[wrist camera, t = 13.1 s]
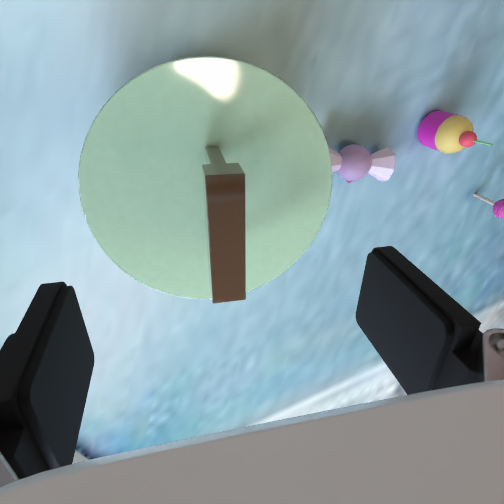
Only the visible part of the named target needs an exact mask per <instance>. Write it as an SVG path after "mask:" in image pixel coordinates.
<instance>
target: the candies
mask: <svg viewBox="0 0 504 504" xmlns="http://www.w3.org/2000/svg"><path fill="white" fill-rule="evenodd" d="M418 139H419V141H420V143H422V144H423V145H424V146H427V147H430V148H432V149H435V150H438V151H440V152H443V153H456V152H458V151H461V150H462V149H464V148H465V147H470V146H472V145H474V144H475V142H476V143H480V144H484V145H489V146H492V145H493V144H490V143H485V142H481V141H477V136H476V134H475V133H474V132H473V125H472V123H471V122H470V120H469V119H467V118H466V117H464V116H461V115H457V114H452V113H448V112H444V111H434V112H432V113H430V114H428V115H427V116H426V117H425V118H424V119H423V121H422V122H421V124H420V126H419V129H418ZM328 147H329V146H328ZM329 152H330V157H331V165H332V173H333V172H335V171H336V172H337V173H338V175H339V176H340V177H341V178H343V179H345V180H346V181H347V182H348V183H349V182H352V181H357V180H360V179H362V178H363V177H365V176H366V175H367V174H368V173H369V174H370V175H372V176H373V177H374V178H376V179H377V180H379V181H386V180H388V179H389V178H390V176H391V174H392V173H393V171H394V167H395V154H394V153H393V151H392V149H391V148H390V147H387V148H384V149H381V150H379V151H377V152H375V153H373V154H371V155H370V153H369V151H368V150H367V149H366V148H365V147H363V146H361V145H357V144H353V145H348V146H346V147H344V148H343V149H341V150H340V151H339V153H338V152H336V151H335V150H333V149H332V148H330V147H329ZM473 196H475V197H477V198H479V199H481V200H483V201H485V202H488V203H490V204H492V205H493V213H494V215H496V217H498V218H502V219H504V199H502V200H499V201H497V202H496V203H495V202H493V201H491V200H489V199H487V198H485V197H483V196H481V195H478V194H476V193H474V194H473Z"/></svg>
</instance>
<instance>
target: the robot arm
mask: <svg viewBox="0 0 504 504" xmlns="http://www.w3.org/2000/svg"><path fill="white" fill-rule="evenodd" d="M356 321H357V323H358V325H359V326H360V328H361V329H362V331H363V332H364V333H365V335H366V336H367V338H368V339H369V341H370V342H371V343H372V345H373V346H374V348H375V349H376V351H377V352H378V353H379V355H380V356H381V358H382V359H383V360H384V362H385V363H386V365H387V366H388V368H389V369H390V370H391V372H392V373H393V375H394V376H395V378H396V379H397V380H398V382H399V383H400V385H401V386H402V387H403V389H404V390H405V392H406V393H407V395H405V396H400V397H395V398H390V399H384V400H379V401H374V402H369V403H364V404H359V405H353V406H348V407H343V408H338V409H333V410H328V411H323V412H318V413H313V414H308V415H303V416H298V417H293V418H288V419H283V420H278V421H273V422H268V423H263V424H258V425H253V426H248V427H243V428H238V429H233V430H228V431H223V432H219V433H214V434H209V435H204V436H199V437H194V438H189V439H184V440H180V441H175V442H170V443H165V444H160V445H155V446H150V447H146V448H141V449H137V450H132V451H127V452H123V453H118V454H114V455H109V456H105V457H100V458H96V459H91V460H87V461H82V462H78V463H75V464H72V462H73V457H74V453H75V448H76V444H77V439H78V435H79V430H80V426H81V421H82V416H83V412H84V407H85V403H86V398H87V394H88V389H89V385H90V380H91V375H92V371H93V366H94V353H93V349H92V346H91V343H90V339H89V336H88V333H87V330H86V326H85V323H84V320H83V317H82V313H81V310H80V307H79V303H78V300H77V297H76V294H75V290H74V288H73V286H67V285H66V284H65V282H56V283H47V284H41V285H40V287H39V289H38V290H37V292H36V294H35V296H34V298H33V300H32V302H31V304H30V306H29V308H28V310H27V312H26V314H25V316H24V317H23V319H22V321H21V323H20V325H19V327H18V329H17V331H16V333H14V334H11V335H10V336H9V337H8V338H7V339H6V341H5V343H4V345H3V346H2V348H1V350H0V504H504V329H490V330H487V331H486V332H485V333H482V332H481V331H479V330H478V329H479V327H480V324H481V323H480V322H479V321H478V320H477V319H476V318H475V317H474V316H472V315H471V314H470V313H469V312H468V311H467V310H465V309H464V308H463V307H462V306H461V305H460V304H459V303H457V302H456V301H455V300H454V299H453V298H452V297H450V296H449V295H448V294H447V293H446V292H445V291H444V290H442V289H441V288H440V287H439V286H438V285H437V284H435V283H434V282H433V281H432V280H431V279H430V278H429V277H427V276H426V275H425V274H424V273H423V272H422V271H420V270H419V269H418V268H417V267H416V266H415V265H413V264H412V263H411V262H410V261H409V260H408V259H407V258H405V257H404V256H403V255H402V254H401V253H400V252H398V251H397V250H396V249H395V248H394V247H392V246H387V247H377V248H374V249H373V250H372V252H370V253H369V254H368V256H367V261H366V266H365V271H364V276H363V281H362V286H361V290H360V295H359V300H358V305H357V310H356Z"/></svg>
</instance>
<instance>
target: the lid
mask: <svg viewBox="0 0 504 504" xmlns="http://www.w3.org/2000/svg"><path fill="white" fill-rule="evenodd" d="M78 179H79V194H80V200H81V206H82V209H83V212H84V215H85V218H86V221H87V224H88V226H89V228H90V230H91V232H92V234H93V236H94V238H95V239H96V241H97V242H98V244H99V245H100V247H101V248H102V250H103V251H104V252H105V253H106V255H107V256H108V257H109V258H110V259H111V260H112V261H113V262H114V263H115V264H116V265H117V266H118V267H119V268H120V269H122V270H123V271H124V272H125V273H126V274H128V275H129V276H131V277H132V278H134V279H135V280H137V281H138V282H140V283H142V284H144V285H146V286H148V287H150V288H152V289H155V290H158V291H160V292H163V293H166V294H170V295H174V296H178V297H184V298H191V299H212V302H213V303H221V302H229V301H238V300H245V299H246V292H248V291H251V290H253V289H256V288H258V287H260V286H262V285H264V284H266V283H268V282H270V281H272V280H273V279H275V278H276V277H278V276H279V275H281V274H282V273H284V272H285V271H286V270H287V269H288V268H290V267H291V266H292V265H293V264H294V263H295V262H296V261H297V260H298V259H299V258H300V257H301V256H302V255H303V254H304V252H305V251H306V250H307V249H308V247H309V246H310V245H311V243H312V242H313V240H314V238H315V237H316V235H317V233H318V232H319V229H320V227H321V225H322V223H323V221H324V218H325V215H326V212H327V209H328V206H329V201H330V196H331V189H332V165H331V157H330V152H329V147H328V144H327V141H326V138H325V135H324V132H323V130H322V128H321V126H320V124H319V122H318V120H317V118H316V116H315V115H314V113H313V112H312V110H311V109H310V108H309V106H308V105H307V103H306V102H305V101H304V100H303V99H302V98H301V97H300V96H299V95H298V94H297V92H296V91H295V90H294V89H293V88H291V87H290V86H289V85H287V84H286V83H285V82H284V81H282V80H281V79H280V78H278V77H277V76H275V75H273V74H271V73H270V72H268V71H266V70H264V69H262V68H260V67H257V66H255V65H252V64H250V63H247V62H244V61H239V60H235V59H231V58H226V57H215V56H197V57H186V58H181V59H177V60H172V61H168V62H165V63H163V64H160V65H158V66H155V67H152V68H150V69H148V70H146V71H145V72H143V73H141V74H139V75H138V76H136V77H134V78H133V79H131V80H130V81H129V82H128V83H126V84H125V85H124V86H123V87H121V88H120V89H119V90H118V91H116V93H115V94H114V95H113V96H112V97H111V98H110V99H109V100H108V101H107V102H106V104H105V105H104V106H103V107H102V109H101V110H100V112H99V113H98V115H97V116H96V118H95V119H94V121H93V123H92V125H91V127H90V129H89V132H88V134H87V136H86V138H85V142H84V145H83V149H82V152H81V156H80V164H79V172H78Z"/></svg>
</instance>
